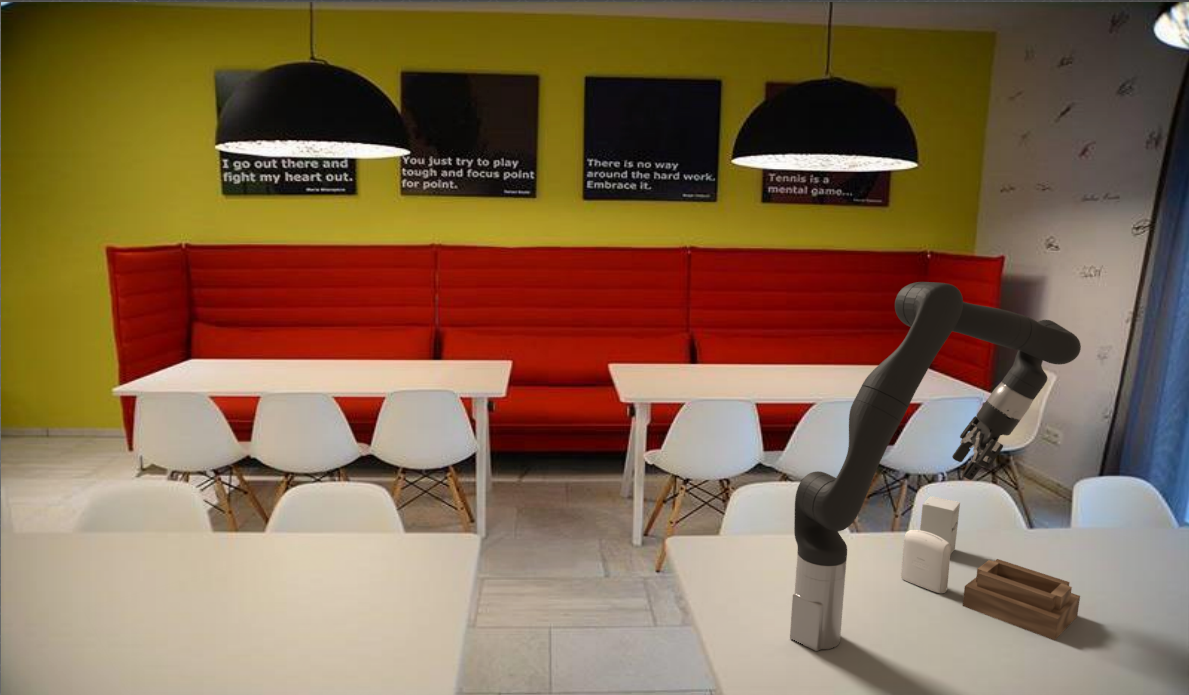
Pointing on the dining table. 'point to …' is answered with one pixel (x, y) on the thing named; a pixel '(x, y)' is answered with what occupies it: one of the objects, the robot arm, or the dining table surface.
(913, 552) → the photo printer
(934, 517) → the supplement box
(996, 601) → the wooden holder
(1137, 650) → the dining table surface
